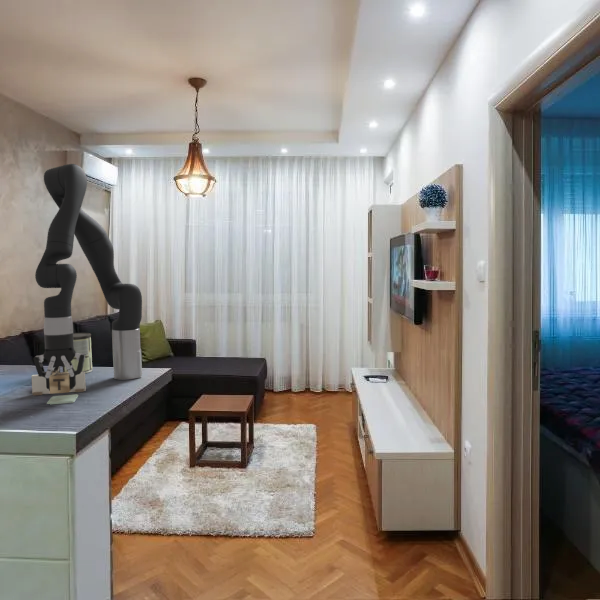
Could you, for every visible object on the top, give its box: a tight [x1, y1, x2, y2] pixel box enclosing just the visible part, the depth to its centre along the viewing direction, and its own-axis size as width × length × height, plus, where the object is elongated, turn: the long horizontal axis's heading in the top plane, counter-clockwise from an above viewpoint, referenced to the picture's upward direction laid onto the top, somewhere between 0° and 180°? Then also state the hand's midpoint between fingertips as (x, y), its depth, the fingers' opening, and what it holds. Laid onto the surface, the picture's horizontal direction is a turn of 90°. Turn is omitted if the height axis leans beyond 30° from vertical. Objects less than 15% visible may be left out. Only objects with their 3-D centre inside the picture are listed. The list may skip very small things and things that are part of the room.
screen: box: [31, 372, 87, 397], centre depth 147 cm, size 15×3×6 cm, turn 105°
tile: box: [46, 394, 79, 405], centre depth 138 cm, size 7×7×1 cm
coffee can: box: [62, 332, 93, 374], centre depth 175 cm, size 10×10×14 cm
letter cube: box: [49, 371, 71, 395], centre depth 138 cm, size 5×5×5 cm
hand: (61, 389), depth 138 cm, fingers closed on letter cube, 5 cm apart
